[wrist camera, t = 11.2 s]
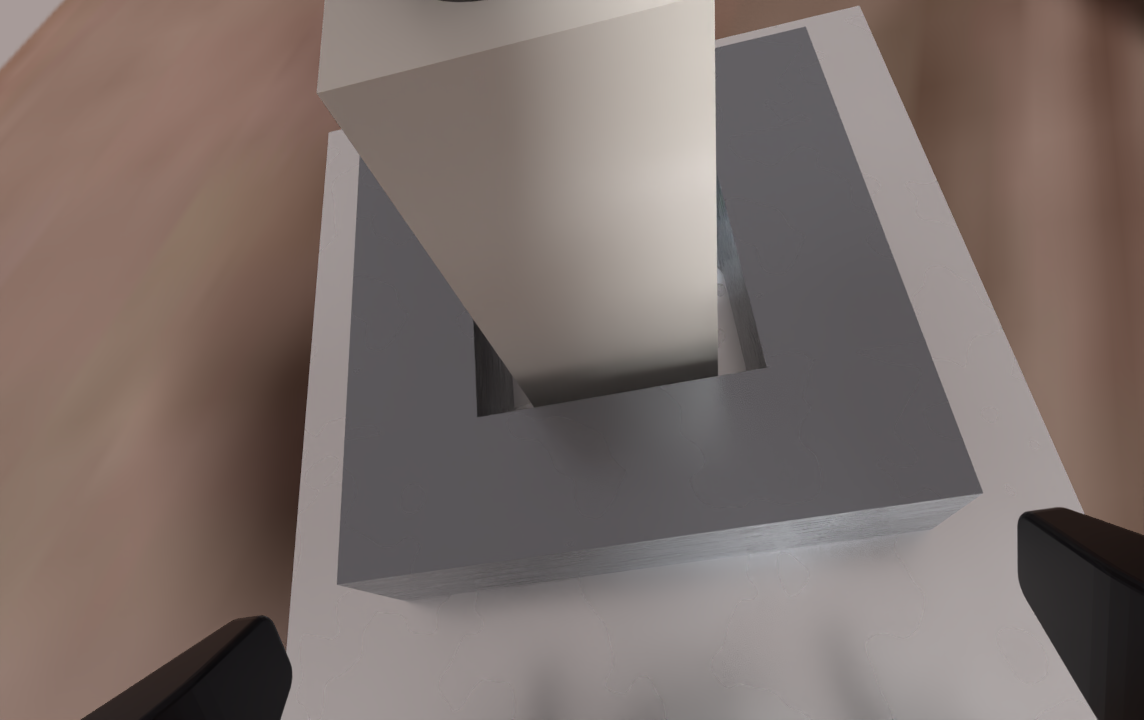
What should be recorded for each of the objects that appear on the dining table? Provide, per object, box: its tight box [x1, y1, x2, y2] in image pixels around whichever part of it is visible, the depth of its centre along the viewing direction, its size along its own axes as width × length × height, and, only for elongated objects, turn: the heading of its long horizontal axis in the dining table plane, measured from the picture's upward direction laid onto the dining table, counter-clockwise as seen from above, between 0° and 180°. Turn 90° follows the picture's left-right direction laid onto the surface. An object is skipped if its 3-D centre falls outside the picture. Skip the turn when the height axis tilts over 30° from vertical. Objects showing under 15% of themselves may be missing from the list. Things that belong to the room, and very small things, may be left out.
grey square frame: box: [281, 6, 1097, 720], centre depth 17 cm, size 20×18×4 cm
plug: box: [317, 0, 718, 408], centre depth 12 cm, size 4×4×12 cm
